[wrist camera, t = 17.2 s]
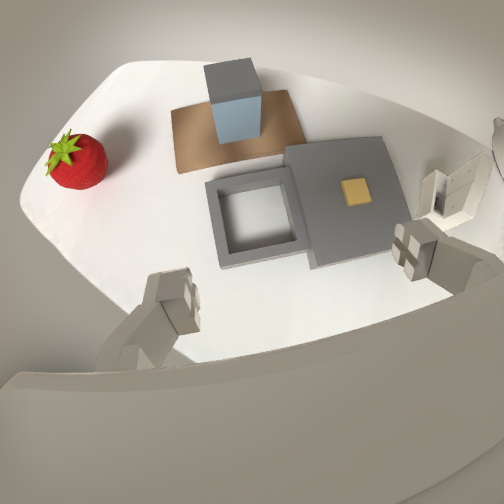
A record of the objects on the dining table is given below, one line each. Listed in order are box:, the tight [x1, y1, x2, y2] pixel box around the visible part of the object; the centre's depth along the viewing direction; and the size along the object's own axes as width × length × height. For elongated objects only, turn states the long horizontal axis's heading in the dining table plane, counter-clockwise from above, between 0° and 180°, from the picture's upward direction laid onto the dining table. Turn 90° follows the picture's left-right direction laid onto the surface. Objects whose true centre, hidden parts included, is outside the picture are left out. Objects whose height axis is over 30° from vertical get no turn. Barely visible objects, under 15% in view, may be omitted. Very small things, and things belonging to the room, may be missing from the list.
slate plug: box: [203, 58, 261, 144], centre depth 25 cm, size 4×4×8 cm
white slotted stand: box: [416, 151, 494, 231], centre depth 25 cm, size 4×10×9 cm, turn 158°
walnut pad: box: [171, 90, 306, 174], centre depth 30 cm, size 14×8×1 cm, turn 102°
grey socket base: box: [205, 137, 412, 270], centre depth 27 cm, size 19×12×4 cm, turn 102°
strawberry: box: [45, 129, 108, 190], centre depth 25 cm, size 6×8×10 cm
